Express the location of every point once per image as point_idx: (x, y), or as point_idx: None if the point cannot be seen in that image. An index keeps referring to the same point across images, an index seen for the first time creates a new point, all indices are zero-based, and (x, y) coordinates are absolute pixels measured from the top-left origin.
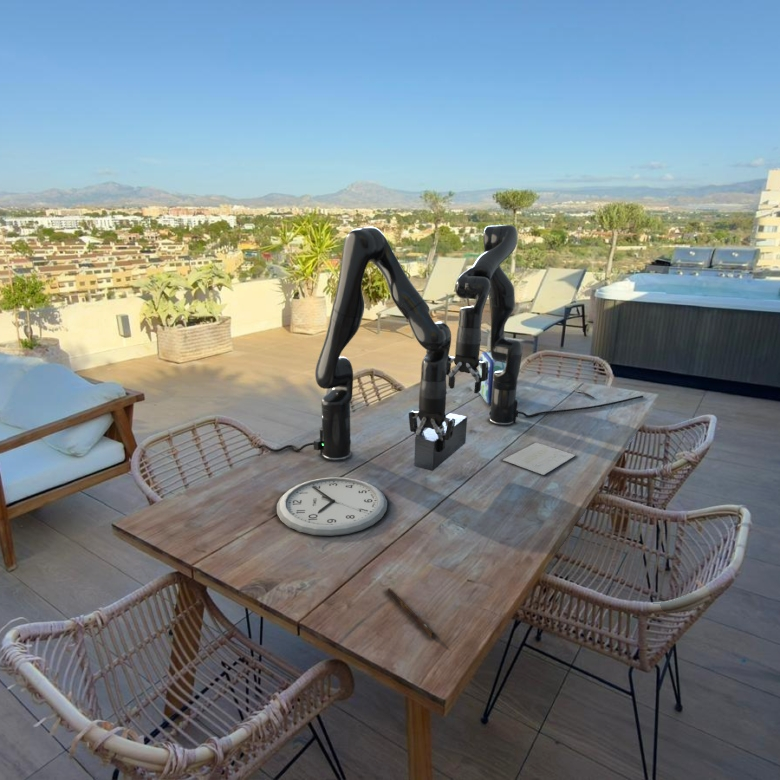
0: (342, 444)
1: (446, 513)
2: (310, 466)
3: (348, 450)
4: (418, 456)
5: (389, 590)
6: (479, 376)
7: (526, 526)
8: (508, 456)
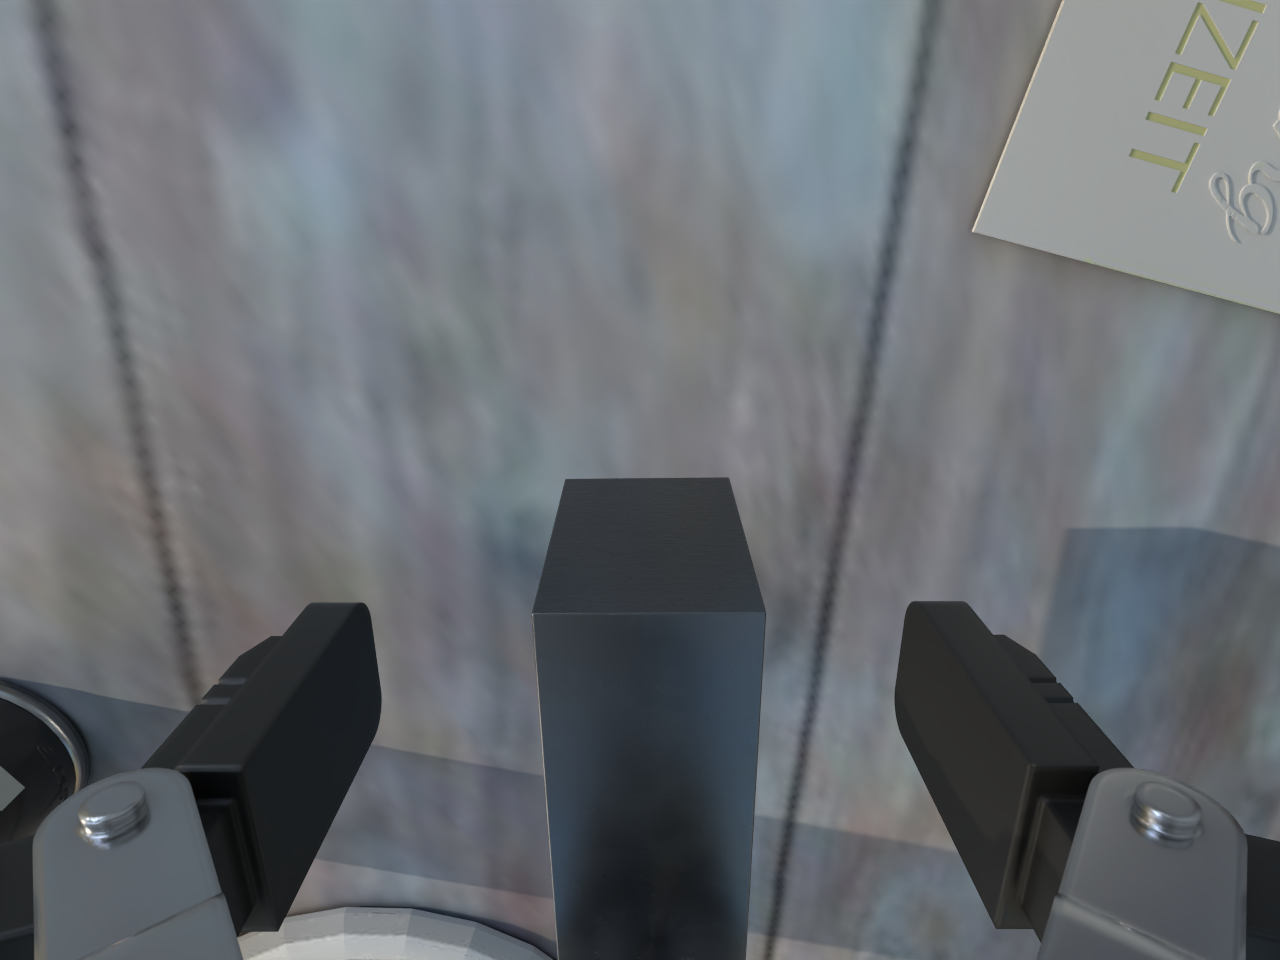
0: None
1: (840, 926)
2: None
3: (47, 778)
4: None
5: None
6: (1187, 935)
7: None
8: (1010, 136)
